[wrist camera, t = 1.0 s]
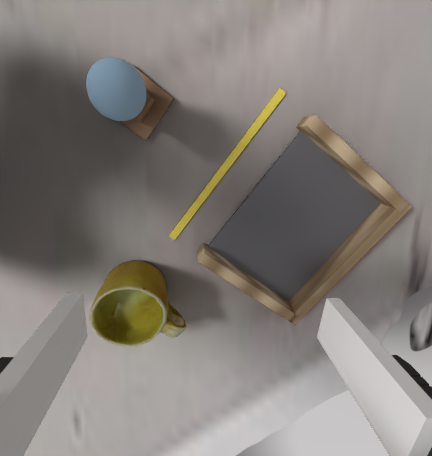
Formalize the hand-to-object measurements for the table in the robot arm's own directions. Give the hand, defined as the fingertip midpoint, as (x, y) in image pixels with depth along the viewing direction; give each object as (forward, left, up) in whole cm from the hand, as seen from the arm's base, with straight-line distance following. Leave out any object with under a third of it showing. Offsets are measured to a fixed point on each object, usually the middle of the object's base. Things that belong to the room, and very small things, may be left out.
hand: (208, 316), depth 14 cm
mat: (+12, +6, -23) cm, 27 cm away
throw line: (-1, +6, -23) cm, 24 cm away
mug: (+1, -15, -24) cm, 28 cm away
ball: (-14, +6, -15) cm, 21 cm away
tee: (-14, +6, -23) cm, 28 cm away
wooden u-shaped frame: (+12, +6, -23) cm, 27 cm away
